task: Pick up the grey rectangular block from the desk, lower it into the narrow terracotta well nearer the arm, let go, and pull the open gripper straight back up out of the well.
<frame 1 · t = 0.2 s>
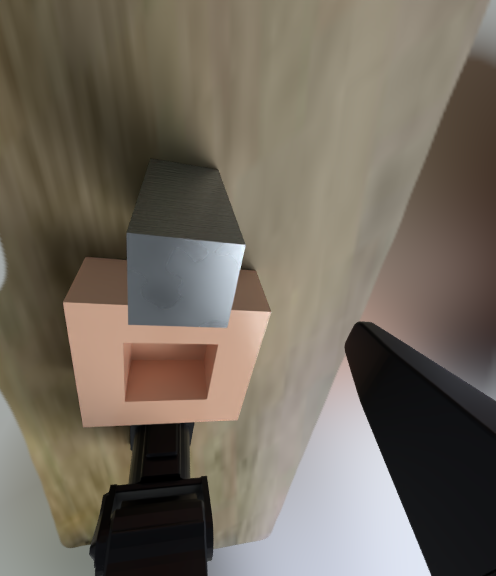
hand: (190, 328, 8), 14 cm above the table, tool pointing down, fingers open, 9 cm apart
grey rectangular block: (182, 196, 20), on the table
well: (171, 326, 26), on the table
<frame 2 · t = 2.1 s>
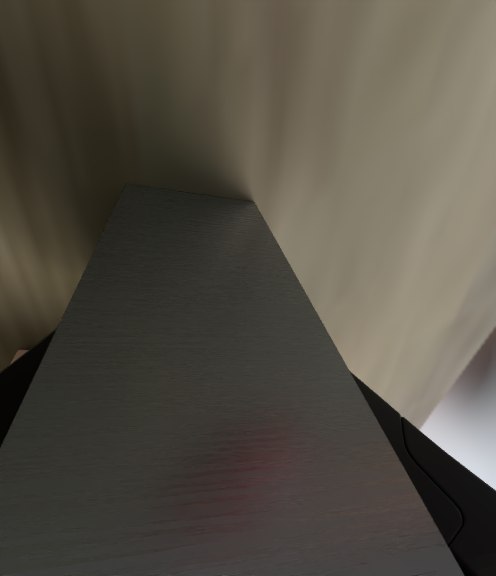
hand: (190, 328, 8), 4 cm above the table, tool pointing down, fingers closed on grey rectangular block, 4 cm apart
grey rectangular block: (187, 249, 11), on the table, touching gripper
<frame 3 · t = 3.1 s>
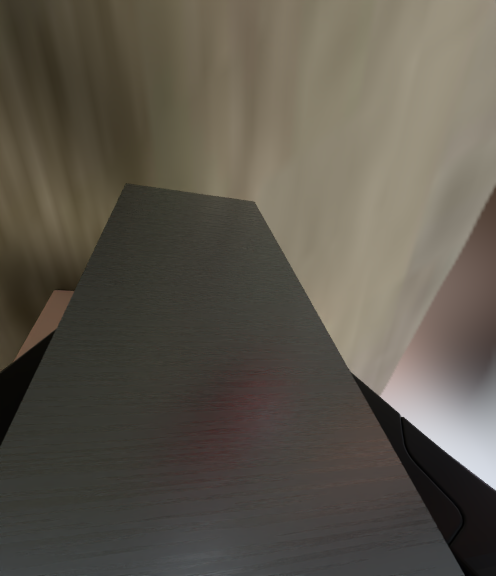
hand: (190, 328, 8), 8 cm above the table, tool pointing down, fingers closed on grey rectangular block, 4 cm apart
grey rectangular block: (187, 249, 11), point 4 cm above the table, touching gripper
well: (170, 370, 20), on the table
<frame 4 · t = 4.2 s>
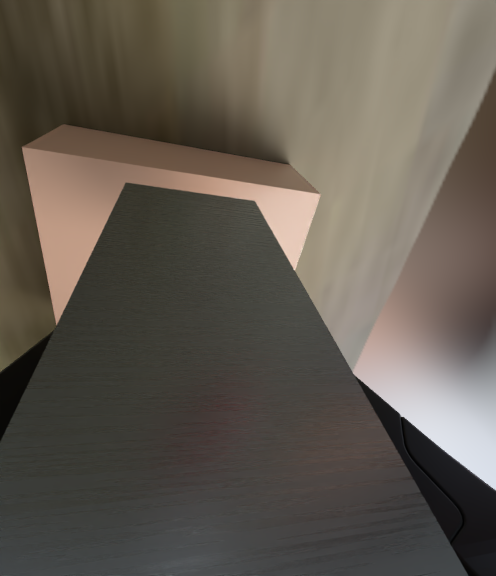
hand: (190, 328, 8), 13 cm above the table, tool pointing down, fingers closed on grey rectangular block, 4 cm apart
grey rectangular block: (187, 248, 11), point 9 cm above the table, touching gripper
well: (179, 244, 20), on the table
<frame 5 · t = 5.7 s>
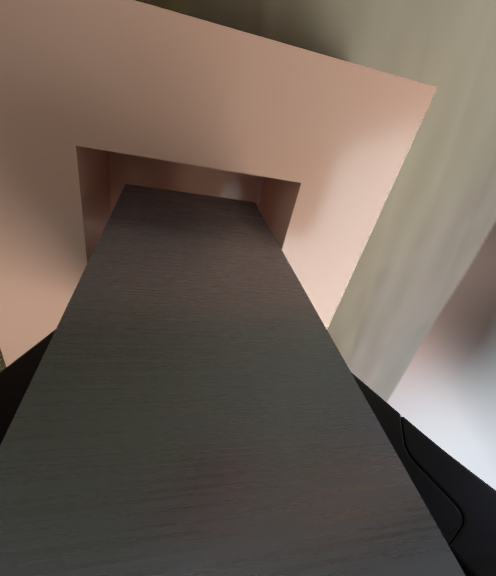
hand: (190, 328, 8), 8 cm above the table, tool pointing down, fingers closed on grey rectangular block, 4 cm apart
grey rectangular block: (187, 249, 11), point 4 cm above the table, touching gripper
well: (186, 206, 14), on the table
when the fingers open (6 cm above the table, at t = 6.8 s): grey rectangular block drops 1 cm, resting on well.
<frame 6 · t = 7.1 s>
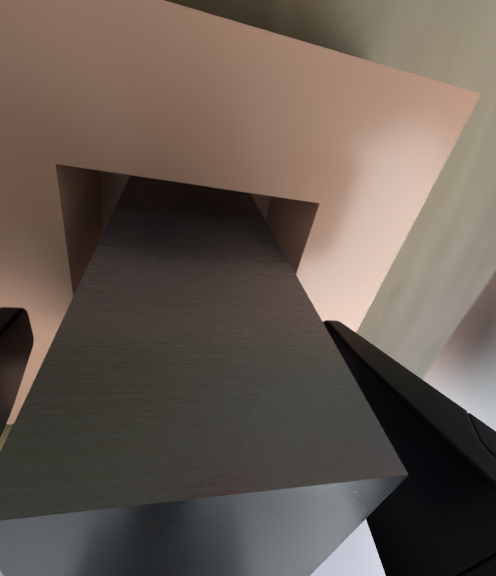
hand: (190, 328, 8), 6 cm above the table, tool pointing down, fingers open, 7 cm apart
grey rectangular block: (187, 231, 12), point 1 cm above the table, touching well
well: (186, 221, 13), on the table
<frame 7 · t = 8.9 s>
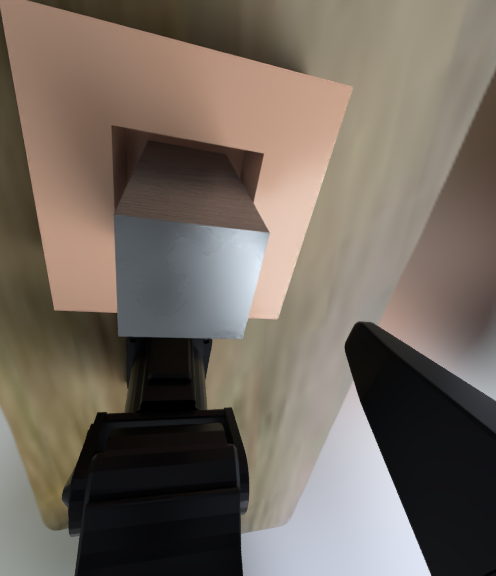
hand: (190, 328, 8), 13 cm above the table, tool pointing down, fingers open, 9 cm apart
grey rectangular block: (184, 185, 17), point 1 cm above the table, touching well
well: (184, 180, 18), on the table
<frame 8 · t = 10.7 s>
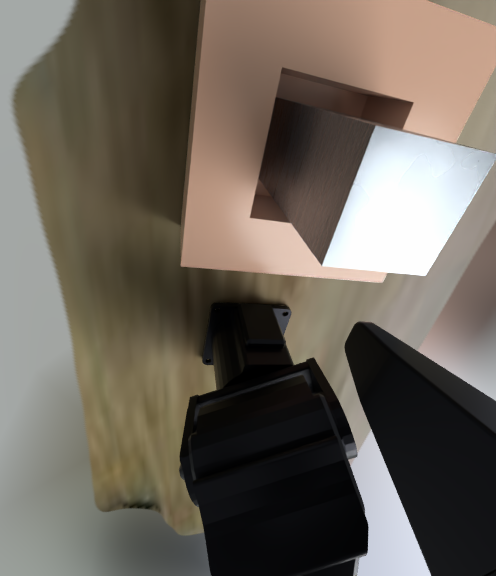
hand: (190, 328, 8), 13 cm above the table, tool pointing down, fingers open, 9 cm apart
grey rectangular block: (299, 146, 17), point 1 cm above the table, touching well
well: (294, 142, 18), on the table
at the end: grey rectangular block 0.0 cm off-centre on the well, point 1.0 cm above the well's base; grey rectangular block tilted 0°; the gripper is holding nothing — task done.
